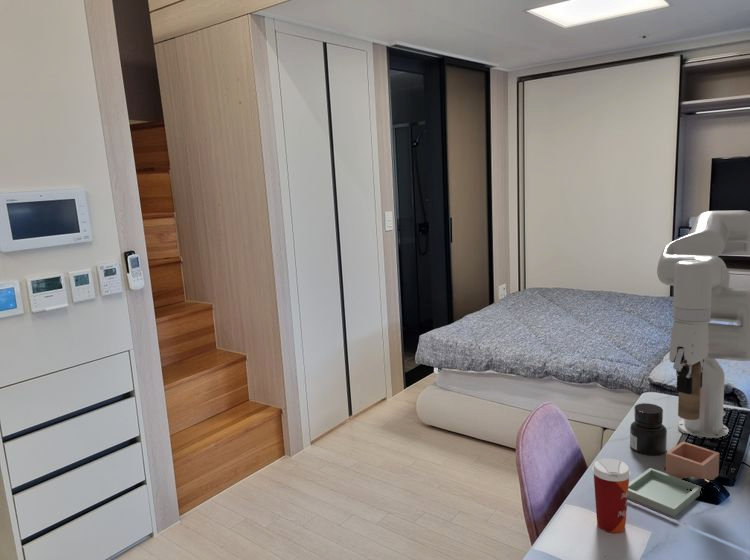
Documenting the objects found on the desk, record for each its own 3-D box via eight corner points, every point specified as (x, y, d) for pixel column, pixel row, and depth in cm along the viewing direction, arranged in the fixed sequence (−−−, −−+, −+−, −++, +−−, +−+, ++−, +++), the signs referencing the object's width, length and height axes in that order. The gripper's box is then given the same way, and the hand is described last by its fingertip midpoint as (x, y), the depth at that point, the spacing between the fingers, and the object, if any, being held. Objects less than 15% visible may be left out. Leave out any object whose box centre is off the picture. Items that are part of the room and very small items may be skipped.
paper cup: (634, 537, 119) (634, 476, 116) (595, 535, 120) (595, 474, 118) (625, 515, 126) (626, 457, 124) (589, 513, 128) (589, 456, 125)
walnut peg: (683, 410, 137) (684, 359, 135) (702, 415, 134) (704, 363, 132) (674, 416, 135) (676, 363, 133) (694, 421, 131) (696, 367, 129)
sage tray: (650, 476, 141) (650, 467, 140) (701, 496, 131) (701, 486, 131) (621, 497, 133) (621, 487, 133) (674, 519, 124) (674, 509, 123)
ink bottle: (636, 438, 160) (637, 398, 158) (670, 447, 154) (671, 405, 152) (624, 452, 153) (625, 411, 151) (660, 462, 147) (661, 418, 145)
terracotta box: (681, 464, 145) (682, 441, 144) (718, 477, 138) (719, 452, 137) (665, 477, 140) (665, 453, 139) (702, 491, 133) (703, 465, 132)
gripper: (691, 305, 138) (688, 377, 141) (657, 318, 128) (655, 395, 131) (725, 309, 132) (721, 384, 135) (692, 323, 122) (689, 404, 125)
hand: (689, 388), depth 133 cm, fingers closed on walnut peg, 4 cm apart
